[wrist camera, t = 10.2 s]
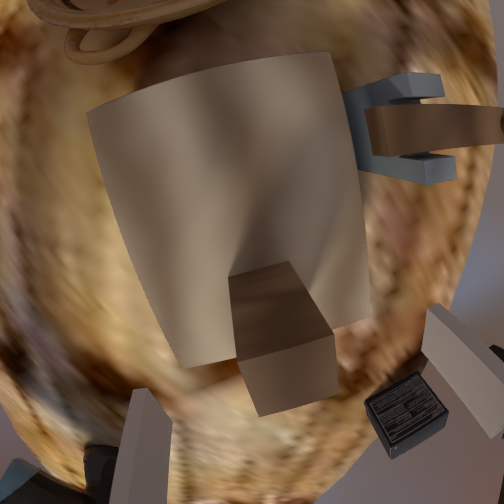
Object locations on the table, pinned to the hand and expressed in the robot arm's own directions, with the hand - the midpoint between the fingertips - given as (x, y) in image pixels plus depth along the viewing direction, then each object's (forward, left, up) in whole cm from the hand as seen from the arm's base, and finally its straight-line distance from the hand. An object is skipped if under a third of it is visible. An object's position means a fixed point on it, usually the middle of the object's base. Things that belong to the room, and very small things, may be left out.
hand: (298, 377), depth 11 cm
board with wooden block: (0, +5, -9) cm, 10 cm away
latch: (+16, +9, -8) cm, 20 cm away
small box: (+17, -32, -18) cm, 40 cm away
